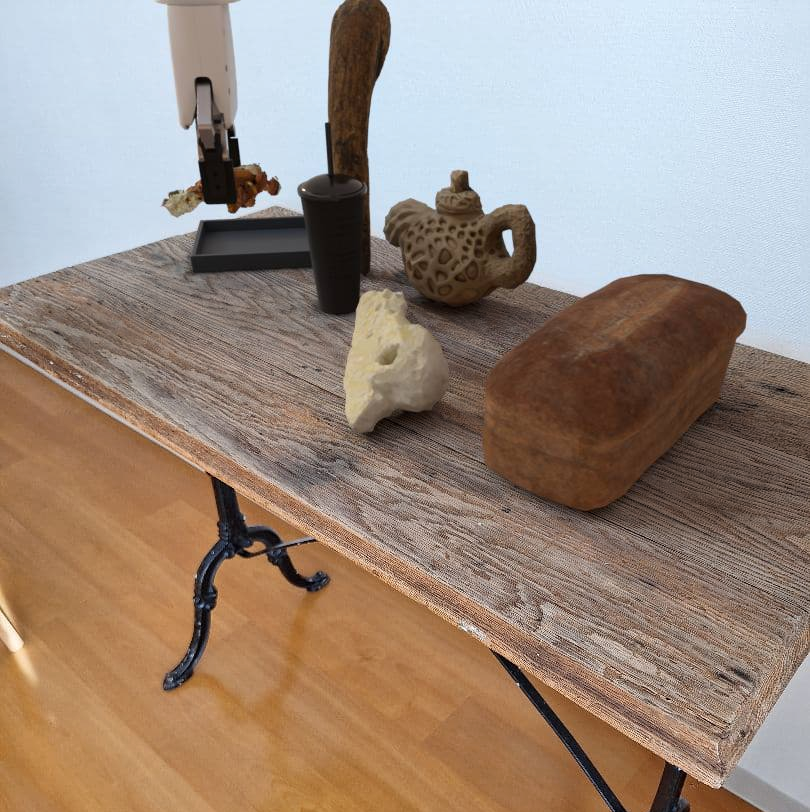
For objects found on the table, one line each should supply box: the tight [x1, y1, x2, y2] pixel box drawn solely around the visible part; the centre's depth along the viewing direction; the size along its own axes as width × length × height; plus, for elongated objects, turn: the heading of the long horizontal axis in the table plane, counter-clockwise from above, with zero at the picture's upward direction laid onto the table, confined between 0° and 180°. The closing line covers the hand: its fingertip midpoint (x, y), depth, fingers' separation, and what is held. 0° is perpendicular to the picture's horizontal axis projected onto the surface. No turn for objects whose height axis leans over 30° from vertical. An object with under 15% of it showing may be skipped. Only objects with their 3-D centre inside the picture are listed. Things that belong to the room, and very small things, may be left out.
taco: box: [160, 162, 282, 219], centre depth 82 cm, size 7×12×4 cm, turn 129°
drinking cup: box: [296, 121, 367, 315], centre depth 91 cm, size 8×8×20 cm
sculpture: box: [327, 0, 392, 277], centre depth 96 cm, size 7×7×30 cm
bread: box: [481, 273, 748, 512], centre depth 71 cm, size 14×28×12 cm, turn 141°
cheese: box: [342, 287, 450, 434], centre depth 78 cm, size 15×7×15 cm
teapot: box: [382, 169, 538, 308], centre depth 93 cm, size 21×12×15 cm, turn 49°
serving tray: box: [190, 215, 313, 273], centre depth 111 cm, size 17×14×2 cm
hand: (224, 189), depth 83 cm, fingers closed on taco, 7 cm apart
